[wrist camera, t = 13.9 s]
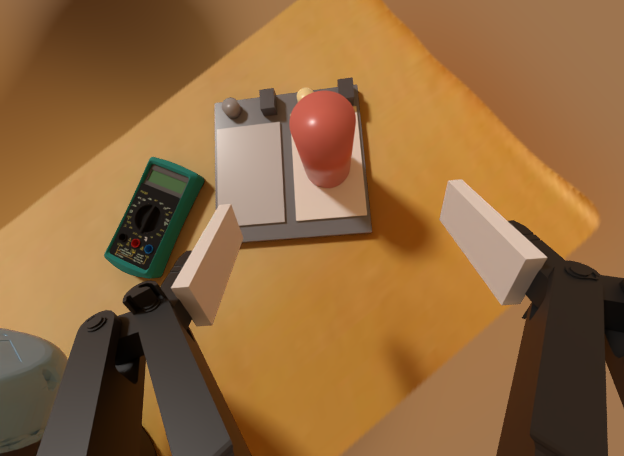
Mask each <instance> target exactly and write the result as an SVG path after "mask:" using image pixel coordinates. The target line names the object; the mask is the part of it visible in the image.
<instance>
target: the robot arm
mask: <svg viewBox="0 0 624 456" xmlns="http://www.w3.org/2000/svg"><path fill="white" fill-rule="evenodd" d="M440 221H441V222H442V224H443V225H444V226H445V228H446V229H447V230H448V232H449V233H450V235H451V236H452V237H453V239H454V240H455V241H456V243H457V244H458V246H459V247H460V248H461V250H462V251H463V253H464V254H465V255H466V257H467V258H468V259H469V261H470V262H471V264H472V265H473V266H474V268H475V269H476V270H477V272H478V273H479V275H480V276H481V277H482V279H483V280H484V282H485V283H486V284H487V286H488V287H489V288H490V290H491V291H492V293H493V294H494V295H495V297H496V298H497V299H498V301H499V302H500V304H501V305H512V304H520V303H521V302H522V300H523V298H524V297H525V295H526V296H527V297H528V298H529V299H530V300H531V301H532V303H531V304H530V306H529V308H528V309H527V311H526V312H525V314H524V315H523V317H522V318H524V319H526V322H525V326H524V331H523V336H522V340H521V345H520V350H519V354H518V359H517V363H516V368H515V372H514V377H513V382H512V386H511V391H510V396H509V400H508V404H507V409H506V414H505V418H504V423H503V427H502V432H501V437H500V441H499V446H498V450H497V455H496V456H608V444H607V410H606V409H607V407H606V371H605V361H606V363H607V366H608V368H609V371H610V373H611V376H612V379H613V381H614V384H615V386H616V389H617V392H618V394H619V397H620V399H621V402H622V404H623V407H624V278H618V277H610V276H603V275H600V274H599V273H598V272H597V271H596V270H594V269H592V268H590V267H589V266H587V265H584V264H581V263H578V262H574V261H565V260H564V259H563V258H562V257H561V256H559V255H558V254H557V253H556V252H555V251H554V250H552V249H551V248H550V247H549V246H548V245H547V244H545V243H544V242H543V241H542V240H541V241H540V238H538V237H537V236H536V235H534V234H533V232H531V231H530V230H529V229H528V228H527V227H526V226H524V225H522V224H520V223H518V222H516V221H514V220H512V221H507V220H506V219H505V218H503V217H502V216H501V215H500V214H499V213H498V212H497V211H496V210H495V209H494V208H492V207H491V206H490V205H489V204H488V203H487V202H486V201H485V200H484V199H483V198H481V197H480V196H479V195H478V194H477V193H476V192H475V191H474V190H473V189H472V188H470V187H469V186H468V185H467V184H466V183H465V182H464V181H463V180H452V181H448V184H447V188H446V193H445V197H444V202H443V206H442V211H441V215H440ZM242 240H243V236H242V233H241V230H240V227H239V224H238V222H237V219H236V216H235V213H234V211H233V208H232V205H231V204H223V205H219V206H218V208H217V209H216V211H215V213H214V215H213V216H212V218H211V220H210V222H209V223H208V225H207V227H206V228H205V230H204V232H203V234H202V235H201V237H200V239H199V240H198V242H197V244H196V246H195V247H194V249H193V251H186V252H185V253H184V254H183V255H181V256H180V257H179V258H178V260H177V261H176V263H175V265H174V267H173V268H172V269H171V271H170V273H169V274H168V276H167V277H166V279H165V280H164V282H163V284H162V285H161V287H160V286H159V285H158V284H157V283H156V282H155V281H145V282H142V283H140V284H138V285H136V286H134V287H133V288H131V289H130V290H129V291H128V292H127V293H126V295H125V296H124V298H123V304H124V305H125V306H126V307H127V308H128V309H129V310H130V311H131V312H128V313H125V314H122V315H119V316H117V315H116V314H115V313H114V312H112V311H109V310H105V311H102V312H99V313H97V314H95V315H93V316H91V317H90V318H89V319H87V320H86V321H85V322H84V323H83V324H82V325H81V326H80V328H79V330H78V332H77V335H76V338H75V341H74V344H73V347H72V350H71V353H70V356H69V359H67V357H66V355H65V354H64V353H63V352H62V351H61V350H60V348H58V347H57V346H56V345H54V344H53V343H51V342H49V341H47V340H45V339H42V338H40V337H37V336H34V335H30V334H27V333H23V332H18V331H14V330H8V329H2V328H0V456H156V452H155V449H154V447H153V445H152V442H151V440H150V438H149V437H148V435H147V434H146V432H145V431H144V430H143V428H142V427H141V425H142V410H143V395H144V380H145V365H146V361H147V365H148V369H149V372H150V376H151V380H152V383H153V387H154V391H155V394H156V398H157V402H158V405H159V409H160V413H161V416H162V420H163V424H164V427H165V431H166V435H167V439H168V442H169V446H170V450H171V453H172V456H252V455H251V453H250V451H249V449H248V447H247V445H246V443H245V441H244V439H243V437H242V435H241V433H240V430H239V428H238V426H237V424H236V422H235V420H234V418H233V416H232V414H231V412H230V410H229V408H228V406H227V404H226V402H225V399H224V397H223V395H222V393H221V391H220V389H219V387H218V385H217V383H216V381H215V379H214V377H213V375H212V373H211V371H210V369H209V366H208V364H207V362H206V360H205V358H204V356H203V354H202V352H201V350H200V348H199V346H198V344H197V342H196V340H195V338H194V335H193V333H192V331H191V330H190V328H189V324H190V322H191V320H193V322H194V323H195V325H196V326H208V325H212V324H213V322H214V319H215V316H216V313H217V310H218V308H219V305H220V302H221V299H222V296H223V294H224V291H225V288H226V285H227V282H228V280H229V277H230V274H231V271H232V268H233V266H234V263H235V260H236V257H237V254H238V252H239V249H240V246H241V243H242Z"/></svg>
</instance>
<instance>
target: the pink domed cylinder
mask: <svg viewBox="0 0 624 456" xmlns="http://www.w3.org/2000/svg"><path fill="white" fill-rule="evenodd" d="M289 126H290V131H291V134H292V137H293V140H294V142H295V145H296V148H297V151H298V153H299V156H300V159H301V161H302V164H303V167H304V169H305V172H306V175H307V177H308V178H309V180H310V181H311V182H312V183H313V184H315V185H316V186H318V187H321V188H333V187H336V186H338V185H340V184H341V183H342V182H343V181H344V180H345V179H346V178H347V176H348V174H349V171H350V165H351V157H352V150H353V142H354V134H355V126H356V115H355V111H354V108H353V106H352V105H351V103H350V102H349V101H348V100H347V99H346V98H345V97H344V96H342V95H340V94H338V93H336V92H332V91H317V92H313V93H311V94H308V95H307V96H305V97H303V98H302V99H301V100H300V101H299V102H298V103H297V104H296V105H295V107H294V109H293V110H292V113H291V116H290V123H289Z"/></svg>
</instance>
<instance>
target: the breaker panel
mask: <svg viewBox="0 0 624 456" xmlns="http://www.w3.org/2000/svg"><path fill="white" fill-rule="evenodd" d="M317 91H332V92H336V93H338V94H340V95H342V96H344V97H345V98H346V99H347V100H348V101H349V102H350V103H351V105H352V106H353V108H354V111H355V115H356V126H355V134H354V142H353V150H352V157H351V165H350V171H349V174H348V176H347V178H346V179H345V180H344V181H343V182H342V183H341V184H340V185H338V186H336V187H333V188H321V187H318V186H316V185H315V184H313V183H312V182H311V181H310V180H309V178H308V177H307V175H306V172H305V169H304V167H303V164H302V161H301V159H300V156H299V153H298V151H297V148H296V145H295V142H294V140H293V137H292V134H291V131H290V126H289V123H290V116H291V113H292V110H293V109H294V107H295V105H296V104H297V103H298V102H299V101H300V100H301V99H302V98H303V97H305V96H307V95H308V94H311V93H313V92H317ZM215 181H216V209H217V208H218V206H219V205H223V204H231V205H232V208H233V211H234V213H235V216H236V219H237V222H238V224H239V227H240V230H241V233H242V236H243V240H242V243H246V242H259V241H272V240H285V239H298V238H311V237H324V236H337V235H350V234H363V233H371V232H372V226H371V217H370V207H369V197H368V187H367V177H366V167H365V157H364V148H363V138H362V128H361V118H360V108H359V98H358V88H357V85H353V78H345V79H338V87H335V88H327V89H319V90H312V89H310V88H302V89H300V90H299V91H298V92H297V93H289V94H281V95H276V94H275V91H274V88H271V89H263V90H260V97H259V98H251V99H243V100H236V99H234V98H227V99H225V100H224V101H223V102H221V103H215Z"/></svg>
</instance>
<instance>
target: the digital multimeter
mask: <svg viewBox="0 0 624 456" xmlns="http://www.w3.org/2000/svg"><path fill="white" fill-rule="evenodd" d="M203 183H204V178H203V177H201V176H200V175H198V174H196V173H194V172H192V171H190V170H188V169H186V168H184V167H182V166H180V165H177V164H175V163H172V162H169V161H166V160H163V159H159V158H156V157H151V158H150V159H149V161H148V164H147V166H146V168H145V171H144V173H143V175H142V177H141V180H140V182H139V184H138V186H137V189H136V191H135V193H134V195H133V197H132V199H131V202H130V204H129V206H128V208H127V210H126V212H125V214H124V216H123V218H122V220H121V222H120V224H119V226H118V228H117V230H116V232H115V234H114V236H113V238H112V240H111V242H110V244H109V246H108V248H107V250H106V252H105V254H104V256H105V258H106V259H107V260H108V261H109V262H110V263H112V264H113V265H114V266H115V267H117V268H118V269H120V270H121V271H123V272H125V273H127V274H130V275H134V276H138V277H143V278H159V277H161V276H162V274H163V272H164V269H165V267H166V264H167V261H168V259H169V256H170V254H171V252H172V249H173V247H174V245H175V242H176V240H177V237H178V235H179V233H180V230H181V228H182V226H183V224H184V222H185V220H186V218H187V215H188V213H189V211H190V209H191V207H192V205H193V203H194V201H195V199H196V197H197V195H198V193H199V191H200V189H201V187H202V185H203ZM177 205H178V206H177ZM176 207H177V208H176ZM172 216H173V217H172ZM171 218H172V219H171ZM167 227H168V228H167ZM166 229H167V230H166ZM165 231H166V232H165ZM161 240H162V241H161ZM160 242H161V243H160ZM155 253H156V254H155ZM128 262H129V263H128Z"/></svg>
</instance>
